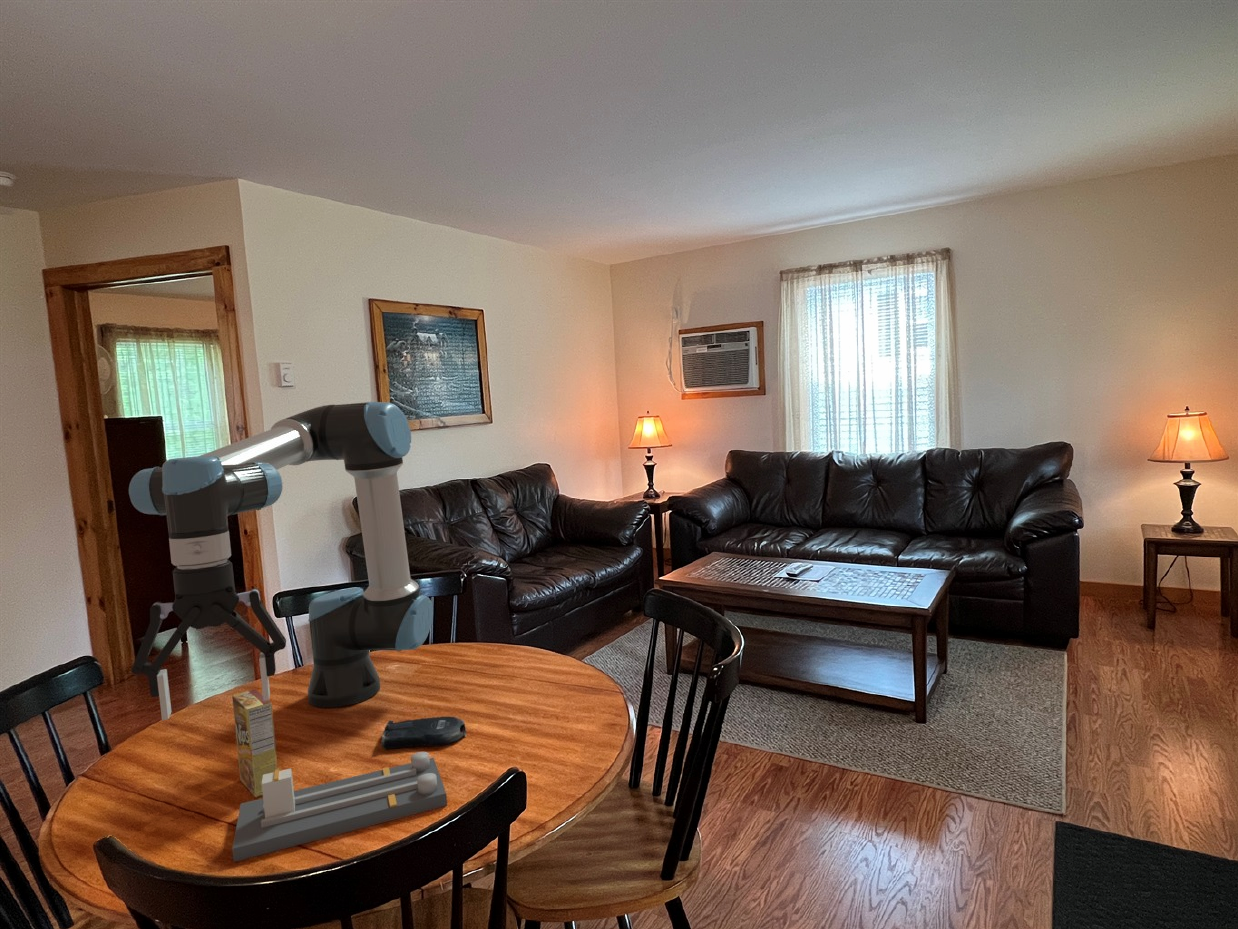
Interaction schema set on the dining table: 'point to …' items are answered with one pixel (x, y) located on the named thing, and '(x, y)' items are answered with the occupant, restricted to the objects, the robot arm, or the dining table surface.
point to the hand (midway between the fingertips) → (218, 706)
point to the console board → (341, 807)
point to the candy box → (254, 739)
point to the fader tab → (278, 793)
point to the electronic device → (423, 732)
